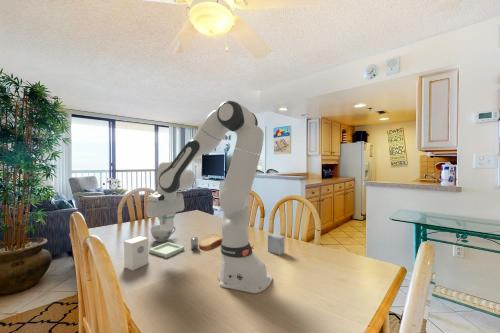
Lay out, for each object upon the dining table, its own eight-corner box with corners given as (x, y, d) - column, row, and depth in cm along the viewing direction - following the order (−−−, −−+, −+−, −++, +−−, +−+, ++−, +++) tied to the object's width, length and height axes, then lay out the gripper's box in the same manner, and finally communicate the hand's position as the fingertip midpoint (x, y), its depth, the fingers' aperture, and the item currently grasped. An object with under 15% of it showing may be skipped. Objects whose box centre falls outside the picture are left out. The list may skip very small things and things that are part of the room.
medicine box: (284, 252, 122) (284, 236, 122) (279, 255, 119) (279, 238, 118) (272, 249, 127) (272, 233, 127) (267, 251, 124) (267, 235, 124)
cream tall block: (149, 263, 109) (148, 238, 109) (133, 270, 103) (132, 243, 102) (140, 260, 113) (139, 235, 113) (123, 266, 106) (123, 240, 106)
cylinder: (199, 248, 128) (199, 237, 128) (194, 250, 125) (194, 239, 125) (194, 247, 130) (194, 236, 130) (189, 249, 127) (189, 238, 126)
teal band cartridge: (173, 229, 115) (173, 213, 114) (166, 231, 111) (167, 214, 111) (166, 227, 117) (166, 211, 117) (159, 229, 114) (159, 213, 113)
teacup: (156, 245, 132) (156, 231, 131) (147, 240, 140) (147, 227, 140) (180, 239, 143) (180, 226, 142) (170, 234, 151) (170, 222, 151)
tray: (184, 250, 126) (184, 246, 126) (166, 258, 115) (166, 254, 115) (167, 245, 132) (167, 242, 132) (149, 252, 122) (149, 249, 122)
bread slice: (201, 251, 124) (200, 245, 124) (194, 241, 141) (194, 234, 141) (232, 246, 132) (232, 240, 131) (223, 236, 148) (223, 231, 148)
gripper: (178, 191, 124) (178, 217, 125) (144, 197, 106) (144, 227, 107) (187, 192, 121) (187, 219, 121) (153, 198, 103) (153, 229, 104)
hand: (166, 223), depth 114 cm, fingers closed on teal band cartridge, 4 cm apart
